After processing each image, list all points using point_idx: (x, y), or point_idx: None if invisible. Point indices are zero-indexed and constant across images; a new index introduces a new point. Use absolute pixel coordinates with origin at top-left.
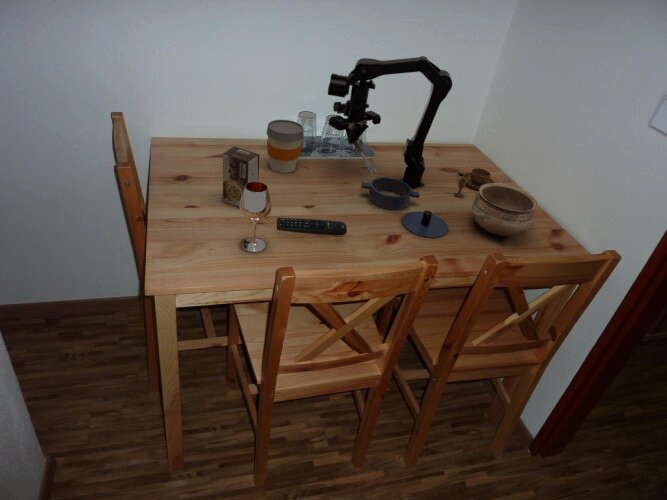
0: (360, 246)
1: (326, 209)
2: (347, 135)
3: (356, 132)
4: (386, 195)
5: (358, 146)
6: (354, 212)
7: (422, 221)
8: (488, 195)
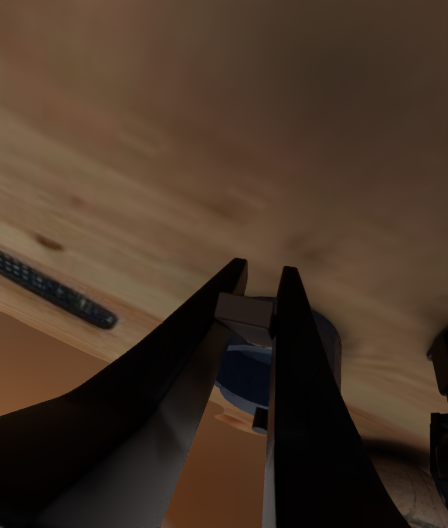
0: (121, 352)
1: (92, 272)
2: (170, 325)
3: (268, 425)
4: (216, 384)
5: (261, 342)
6: (156, 311)
7: (256, 406)
8: (443, 518)
